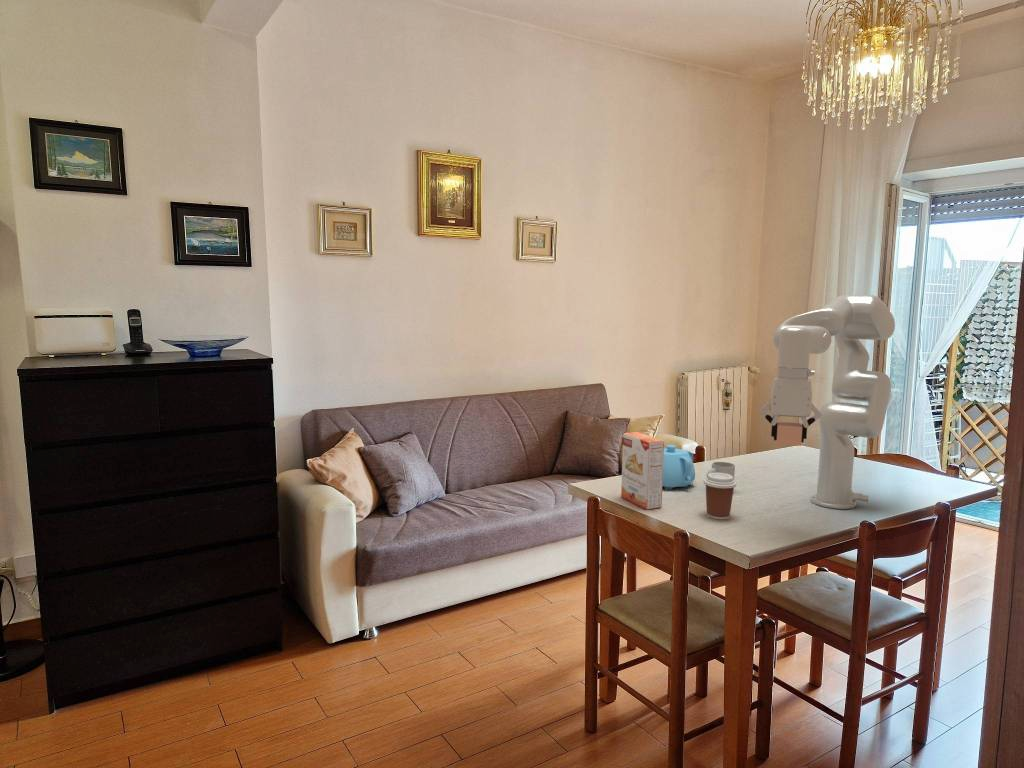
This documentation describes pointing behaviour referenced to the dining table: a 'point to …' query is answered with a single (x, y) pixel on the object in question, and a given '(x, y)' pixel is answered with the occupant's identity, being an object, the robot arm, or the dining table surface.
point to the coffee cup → (719, 495)
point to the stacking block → (789, 433)
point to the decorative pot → (677, 467)
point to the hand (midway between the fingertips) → (788, 439)
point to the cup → (722, 468)
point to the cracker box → (642, 470)
